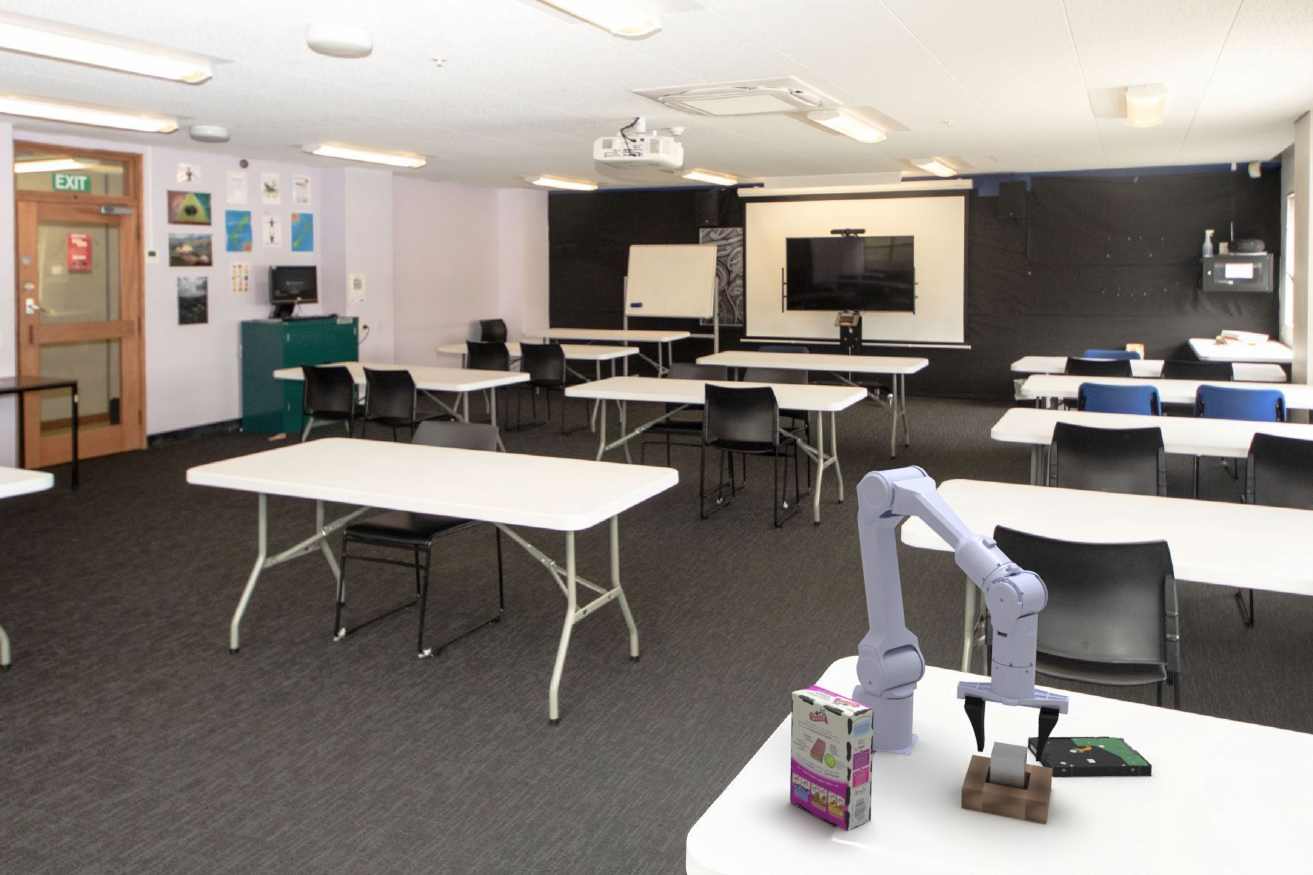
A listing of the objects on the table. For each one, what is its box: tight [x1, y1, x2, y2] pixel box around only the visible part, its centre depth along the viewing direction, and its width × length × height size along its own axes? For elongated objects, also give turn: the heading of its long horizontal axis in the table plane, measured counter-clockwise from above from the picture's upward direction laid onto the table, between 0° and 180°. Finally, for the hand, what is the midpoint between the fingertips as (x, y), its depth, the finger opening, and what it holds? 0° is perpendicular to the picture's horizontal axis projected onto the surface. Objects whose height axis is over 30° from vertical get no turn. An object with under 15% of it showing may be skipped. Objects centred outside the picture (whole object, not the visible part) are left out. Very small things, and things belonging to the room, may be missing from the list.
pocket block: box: [960, 754, 1053, 825], centre depth 147 cm, size 11×11×4 cm
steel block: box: [990, 741, 1028, 790], centre depth 146 cm, size 4×4×7 cm
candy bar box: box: [789, 684, 874, 832], centre depth 143 cm, size 11×5×16 cm, turn 37°
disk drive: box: [1027, 735, 1153, 778], centre depth 158 cm, size 10×3×15 cm
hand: (1009, 753), depth 146 cm, fingers open, 7 cm apart
